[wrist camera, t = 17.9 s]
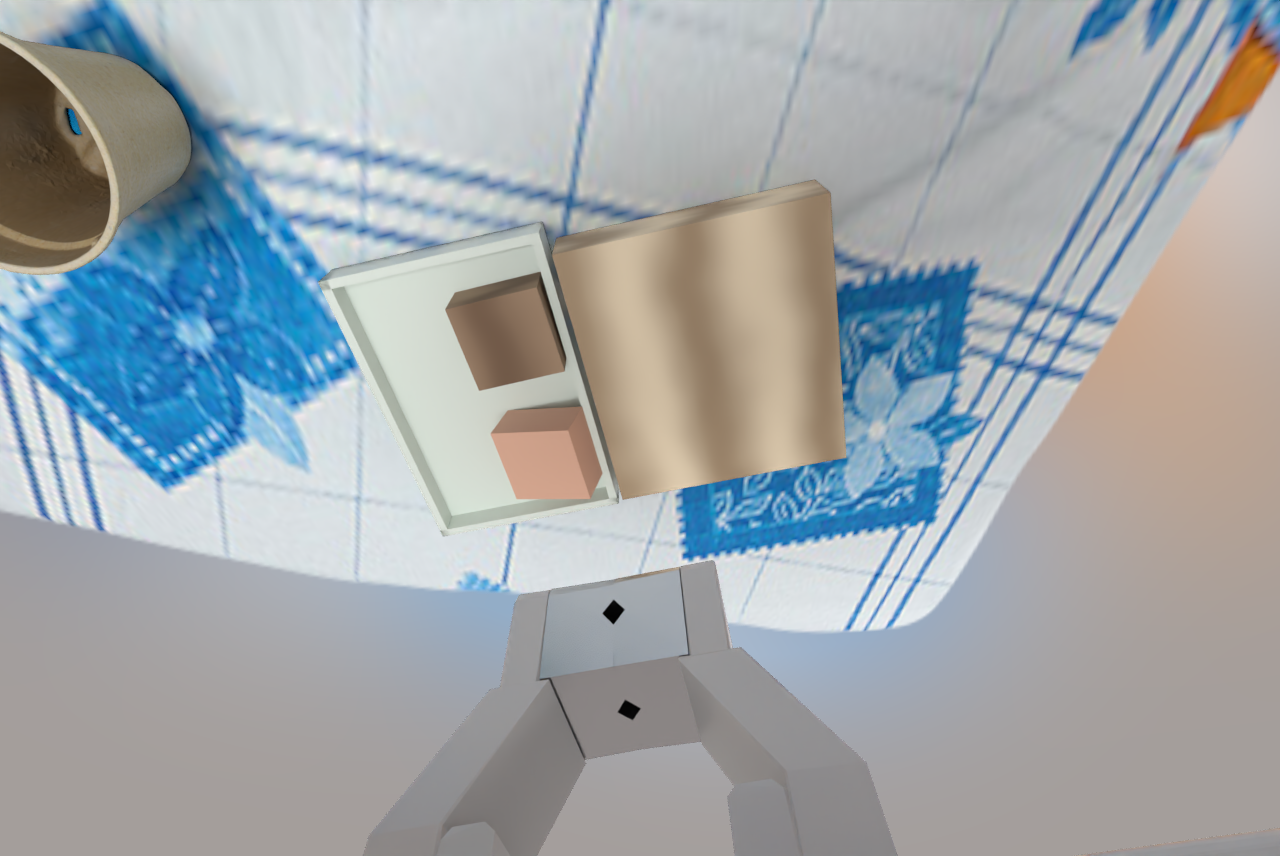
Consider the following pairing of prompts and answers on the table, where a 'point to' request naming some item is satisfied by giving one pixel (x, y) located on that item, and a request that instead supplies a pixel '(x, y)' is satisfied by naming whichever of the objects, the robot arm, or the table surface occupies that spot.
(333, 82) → the table surface
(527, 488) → the terracotta tile
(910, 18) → the table surface
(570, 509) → the tray
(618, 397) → the board
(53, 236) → the flower pot
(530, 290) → the walnut tile
